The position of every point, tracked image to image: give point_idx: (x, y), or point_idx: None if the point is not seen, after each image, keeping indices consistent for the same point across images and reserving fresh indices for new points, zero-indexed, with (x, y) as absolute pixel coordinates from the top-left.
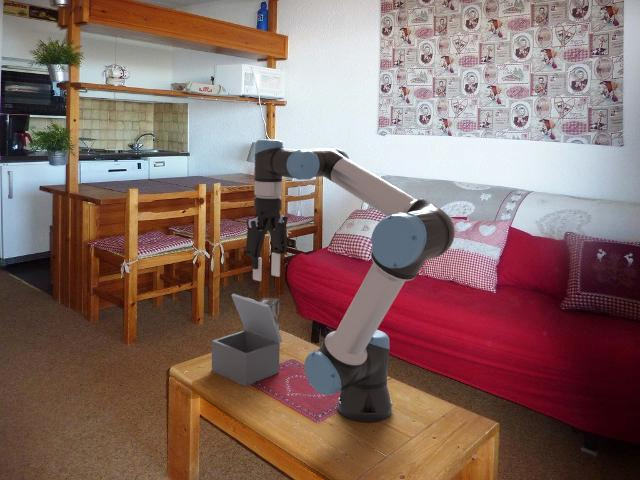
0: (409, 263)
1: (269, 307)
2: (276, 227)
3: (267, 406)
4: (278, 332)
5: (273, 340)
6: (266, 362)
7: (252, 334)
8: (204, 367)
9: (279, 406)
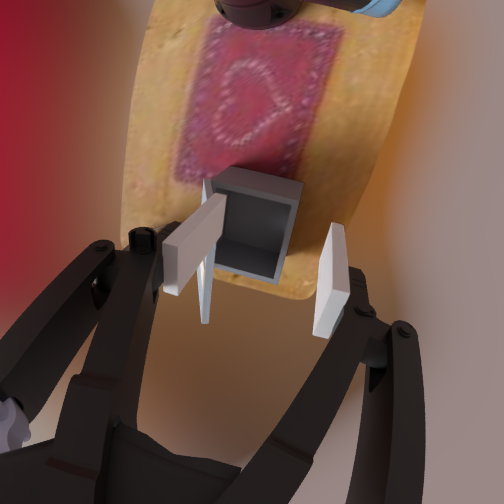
0: None
1: None
2: (89, 425)
3: (344, 115)
4: (206, 187)
5: (159, 230)
6: (252, 179)
7: None
8: (282, 270)
9: (333, 99)
